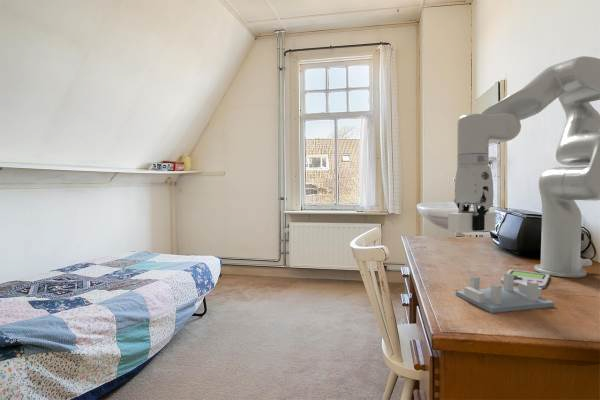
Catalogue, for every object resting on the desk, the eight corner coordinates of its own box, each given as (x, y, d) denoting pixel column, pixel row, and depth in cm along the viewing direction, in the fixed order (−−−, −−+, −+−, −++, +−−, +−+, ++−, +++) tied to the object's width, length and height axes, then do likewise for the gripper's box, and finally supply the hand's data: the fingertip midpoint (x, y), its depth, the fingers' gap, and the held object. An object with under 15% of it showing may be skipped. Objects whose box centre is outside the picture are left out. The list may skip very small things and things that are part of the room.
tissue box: (483, 228, 98) (483, 208, 98) (495, 230, 94) (495, 209, 94) (448, 231, 95) (448, 210, 94) (458, 233, 91) (458, 211, 91)
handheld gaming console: (499, 278, 96) (510, 268, 107) (499, 284, 96) (509, 273, 107) (544, 285, 89) (549, 273, 101) (543, 291, 89) (549, 278, 101)
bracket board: (512, 290, 89) (512, 270, 89) (555, 306, 77) (555, 284, 77) (454, 295, 86) (455, 275, 86) (490, 312, 74) (491, 289, 74)
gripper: (509, 159, 86) (507, 233, 87) (464, 162, 102) (464, 224, 103) (482, 159, 84) (481, 234, 86) (441, 163, 101) (441, 225, 102)
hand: (471, 228), depth 94 cm, fingers closed on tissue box, 4 cm apart
